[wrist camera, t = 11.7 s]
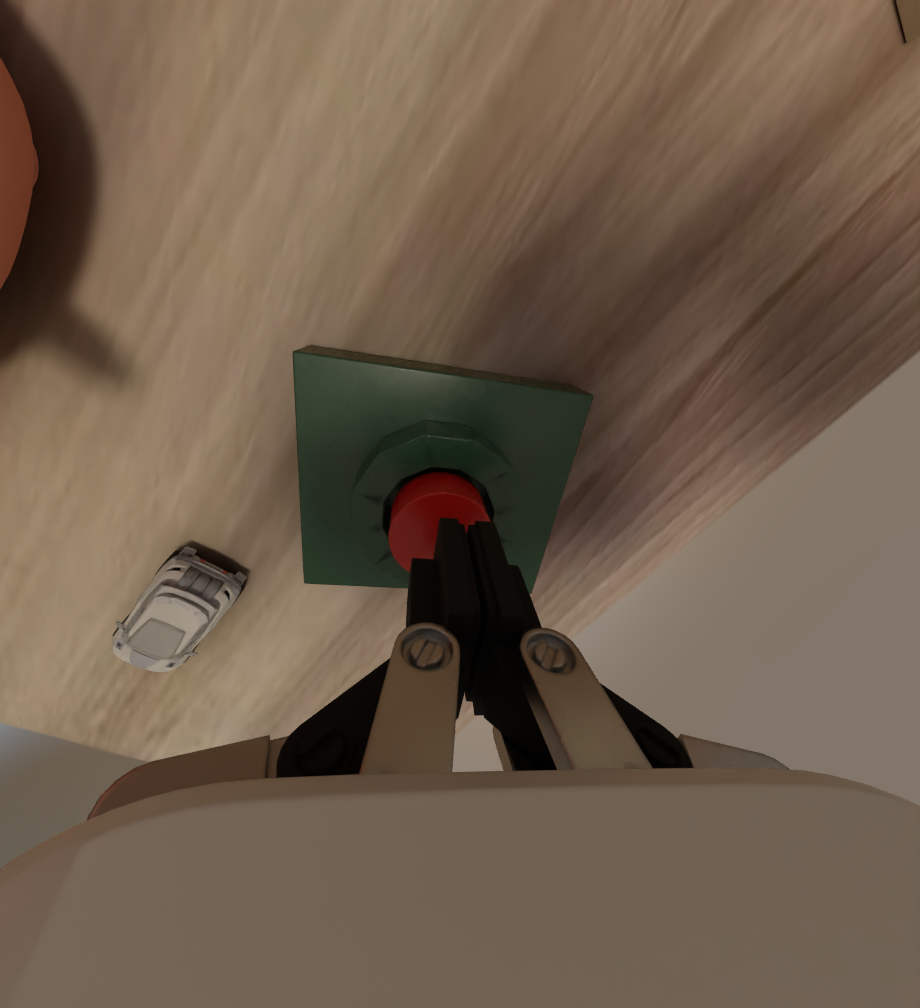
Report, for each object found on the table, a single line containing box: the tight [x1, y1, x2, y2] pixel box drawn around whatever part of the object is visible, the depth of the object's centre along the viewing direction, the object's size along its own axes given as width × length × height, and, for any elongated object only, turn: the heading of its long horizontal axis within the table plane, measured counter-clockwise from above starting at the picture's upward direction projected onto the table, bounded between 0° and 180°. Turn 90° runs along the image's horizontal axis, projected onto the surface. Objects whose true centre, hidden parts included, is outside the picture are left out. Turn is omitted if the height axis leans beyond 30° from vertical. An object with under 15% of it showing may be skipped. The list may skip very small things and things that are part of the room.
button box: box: [293, 345, 593, 594], centre depth 16 cm, size 11×10×4 cm
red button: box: [389, 472, 490, 572], centre depth 13 cm, size 4×4×2 cm
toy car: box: [112, 546, 247, 672], centre depth 18 cm, size 4×8×3 cm, turn 137°
